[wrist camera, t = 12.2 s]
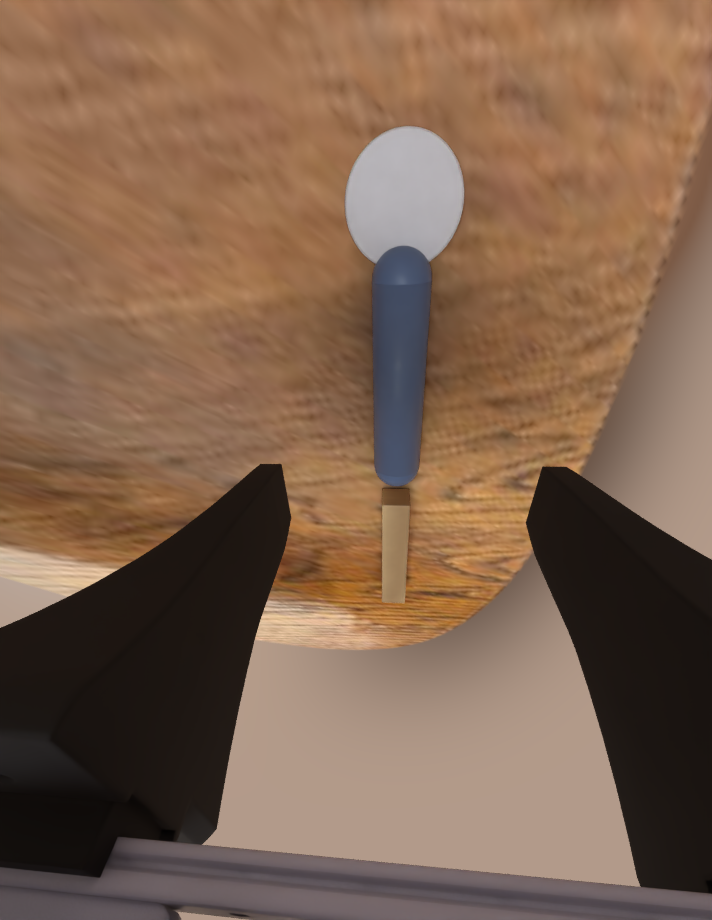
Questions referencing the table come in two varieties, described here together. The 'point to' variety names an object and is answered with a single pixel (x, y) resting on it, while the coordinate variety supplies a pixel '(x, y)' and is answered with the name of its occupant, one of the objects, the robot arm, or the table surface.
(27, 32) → the table surface
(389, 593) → the baton
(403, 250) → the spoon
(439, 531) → the table surface
